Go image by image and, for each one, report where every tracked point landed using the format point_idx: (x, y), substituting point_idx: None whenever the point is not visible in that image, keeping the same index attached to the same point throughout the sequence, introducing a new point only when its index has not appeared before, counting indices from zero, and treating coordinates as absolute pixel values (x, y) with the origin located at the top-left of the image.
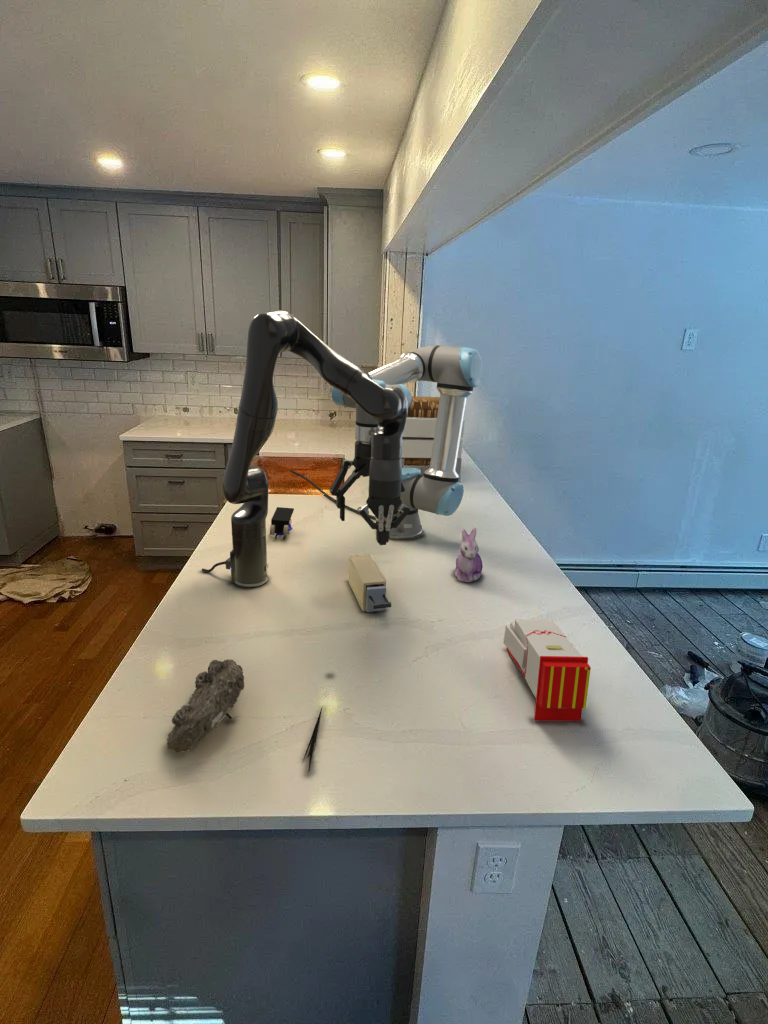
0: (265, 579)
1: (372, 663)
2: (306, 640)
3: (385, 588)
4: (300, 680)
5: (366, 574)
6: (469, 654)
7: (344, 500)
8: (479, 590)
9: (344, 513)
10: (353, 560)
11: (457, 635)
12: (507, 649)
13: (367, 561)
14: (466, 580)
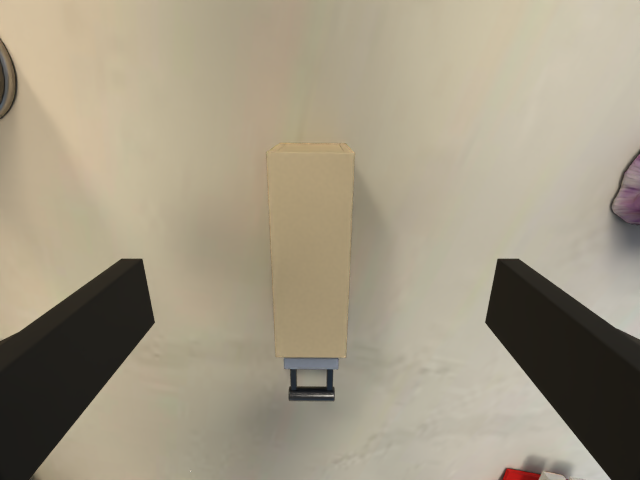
0: (3, 97)
1: (264, 455)
2: (152, 381)
3: (335, 368)
4: (144, 468)
5: (297, 310)
6: (436, 464)
7: (32, 465)
8: (623, 268)
9: (122, 359)
10: (275, 200)
11: (447, 418)
12: (506, 475)
13: (326, 218)
14: (629, 221)
